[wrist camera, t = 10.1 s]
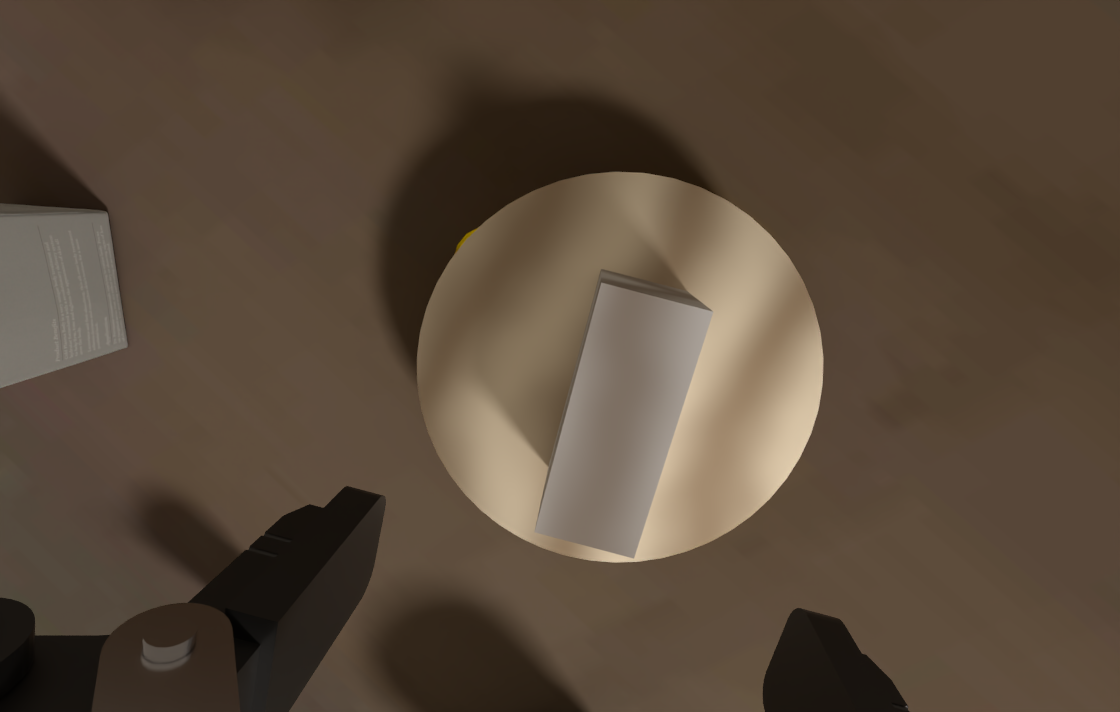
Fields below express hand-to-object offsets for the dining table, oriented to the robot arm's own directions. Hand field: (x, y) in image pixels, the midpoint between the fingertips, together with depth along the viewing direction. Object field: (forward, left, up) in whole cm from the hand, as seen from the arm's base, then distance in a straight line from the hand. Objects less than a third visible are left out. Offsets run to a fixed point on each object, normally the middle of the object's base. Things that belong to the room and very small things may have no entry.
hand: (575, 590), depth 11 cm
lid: (-1, 0, -17) cm, 17 cm away
